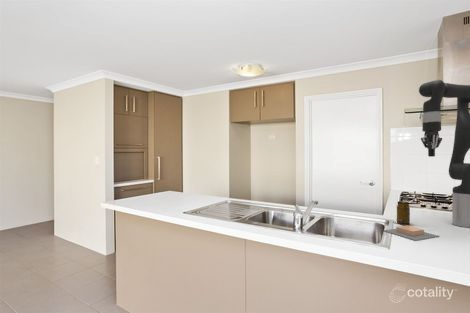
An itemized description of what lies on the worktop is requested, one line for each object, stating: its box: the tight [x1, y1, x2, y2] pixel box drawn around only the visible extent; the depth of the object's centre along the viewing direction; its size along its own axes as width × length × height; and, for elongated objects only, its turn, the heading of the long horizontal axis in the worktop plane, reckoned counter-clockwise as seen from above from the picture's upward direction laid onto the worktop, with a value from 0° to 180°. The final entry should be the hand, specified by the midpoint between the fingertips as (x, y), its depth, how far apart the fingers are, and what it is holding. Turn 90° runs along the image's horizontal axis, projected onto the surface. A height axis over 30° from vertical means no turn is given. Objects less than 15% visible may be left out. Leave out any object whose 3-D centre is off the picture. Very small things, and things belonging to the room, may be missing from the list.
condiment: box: [393, 200, 416, 227], centre depth 145 cm, size 7×8×12 cm
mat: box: [382, 228, 440, 242], centre depth 127 cm, size 16×16×1 cm
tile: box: [395, 225, 425, 236], centre depth 127 cm, size 2×8×8 cm
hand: (431, 156), depth 132 cm, fingers closed
